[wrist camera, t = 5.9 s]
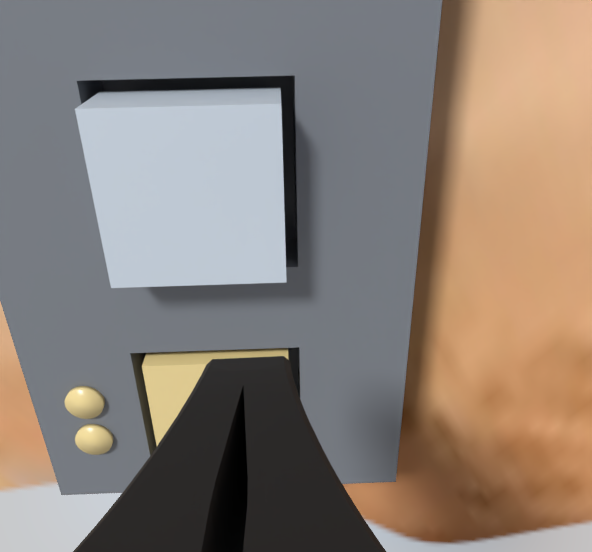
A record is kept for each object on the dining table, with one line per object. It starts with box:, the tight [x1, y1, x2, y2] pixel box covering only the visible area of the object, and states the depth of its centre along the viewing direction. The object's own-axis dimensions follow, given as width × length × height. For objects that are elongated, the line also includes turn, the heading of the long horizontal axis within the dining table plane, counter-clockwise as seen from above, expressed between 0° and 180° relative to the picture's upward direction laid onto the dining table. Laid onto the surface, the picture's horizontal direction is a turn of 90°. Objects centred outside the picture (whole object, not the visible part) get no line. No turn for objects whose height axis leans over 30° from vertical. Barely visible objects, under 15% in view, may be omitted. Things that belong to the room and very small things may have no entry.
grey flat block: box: [0, 0, 442, 495], centre depth 16 cm, size 12×23×3 cm, turn 1°
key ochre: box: [142, 348, 289, 446], centre depth 19 cm, size 4×4×2 cm
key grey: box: [75, 87, 287, 288], centre depth 14 cm, size 4×4×2 cm
